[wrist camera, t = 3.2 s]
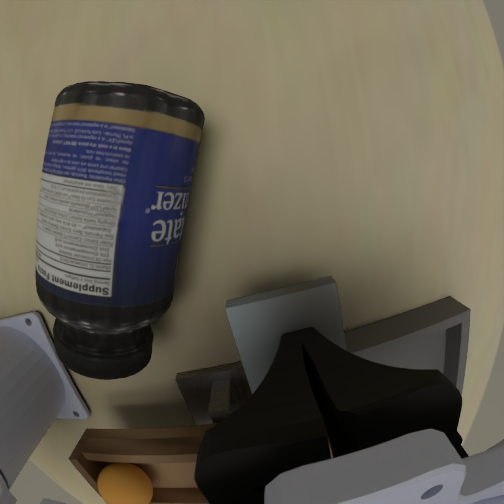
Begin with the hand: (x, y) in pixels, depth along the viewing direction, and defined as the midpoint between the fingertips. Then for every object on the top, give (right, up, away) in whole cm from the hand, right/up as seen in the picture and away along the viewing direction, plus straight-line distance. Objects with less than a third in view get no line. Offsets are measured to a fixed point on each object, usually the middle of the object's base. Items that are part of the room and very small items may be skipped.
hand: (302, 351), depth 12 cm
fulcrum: (-3, -6, +6) cm, 9 cm away
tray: (+7, -3, +5) cm, 10 cm away
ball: (-8, -8, 0) cm, 12 cm away
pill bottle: (-7, +10, -1) cm, 12 cm away
